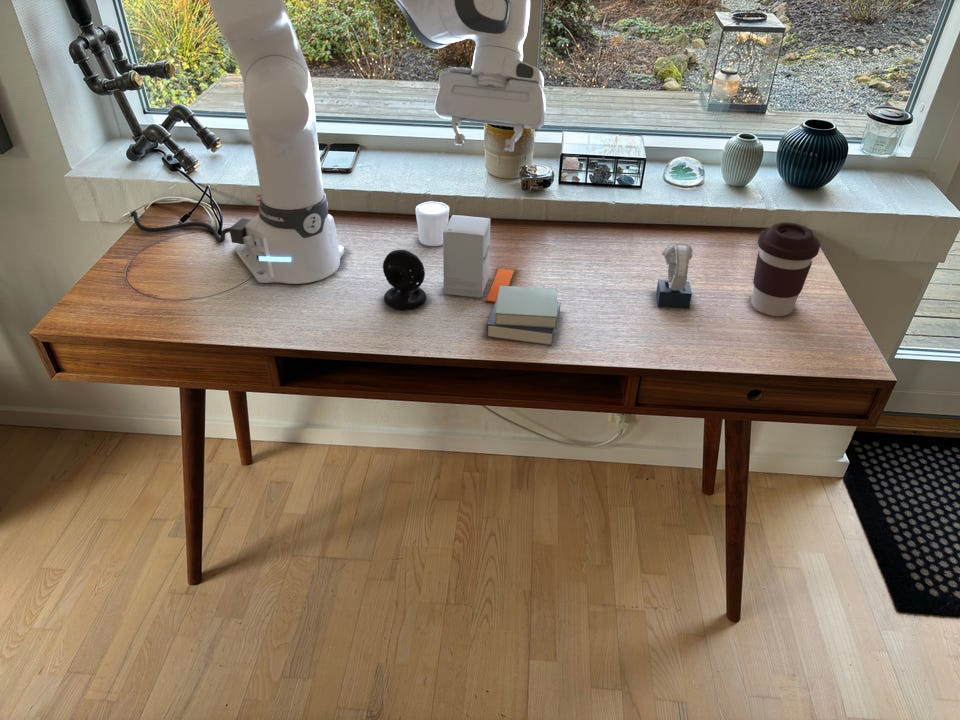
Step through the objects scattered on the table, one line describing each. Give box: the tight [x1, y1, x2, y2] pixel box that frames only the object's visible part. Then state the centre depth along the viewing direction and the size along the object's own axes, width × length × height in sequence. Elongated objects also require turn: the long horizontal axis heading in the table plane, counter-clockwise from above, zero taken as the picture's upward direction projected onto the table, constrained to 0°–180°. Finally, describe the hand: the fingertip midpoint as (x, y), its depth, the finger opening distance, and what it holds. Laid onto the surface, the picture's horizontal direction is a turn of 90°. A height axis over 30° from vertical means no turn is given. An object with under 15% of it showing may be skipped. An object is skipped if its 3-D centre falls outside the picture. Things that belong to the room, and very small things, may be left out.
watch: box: [655, 242, 694, 310], centre depth 138 cm, size 6×8×11 cm
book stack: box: [486, 285, 561, 346], centre depth 133 cm, size 11×10×5 cm
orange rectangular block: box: [485, 268, 515, 304], centre depth 145 cm, size 12×3×1 cm, turn 168°
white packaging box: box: [442, 214, 492, 299], centre depth 141 cm, size 7×7×13 cm
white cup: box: [415, 201, 450, 247], centre depth 158 cm, size 7×7×7 cm
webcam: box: [382, 249, 427, 312], centre depth 138 cm, size 8×8×10 cm
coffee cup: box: [750, 221, 821, 317], centre depth 136 cm, size 10×10×15 cm
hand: (483, 147), depth 143 cm, fingers open, 8 cm apart
